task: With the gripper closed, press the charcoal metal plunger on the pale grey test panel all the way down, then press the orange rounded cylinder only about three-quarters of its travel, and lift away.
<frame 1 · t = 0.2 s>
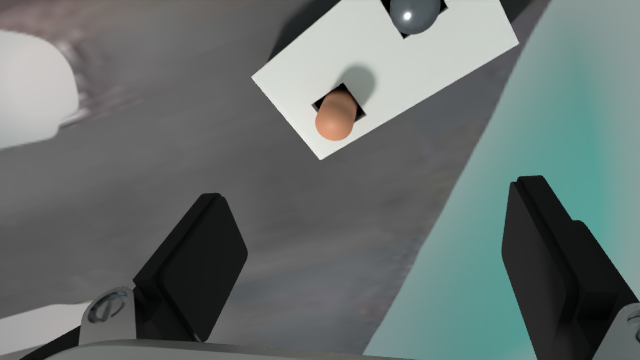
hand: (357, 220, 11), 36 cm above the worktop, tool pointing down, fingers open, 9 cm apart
charcoal plunger: (413, 4, 32), point 7 cm above the worktop, slide at 0.0 cm
orange rounded cylinder: (337, 114, 40), point 7 cm above the worktop, slide at 0.0 cm
test panel: (374, 48, 42), on the worktop
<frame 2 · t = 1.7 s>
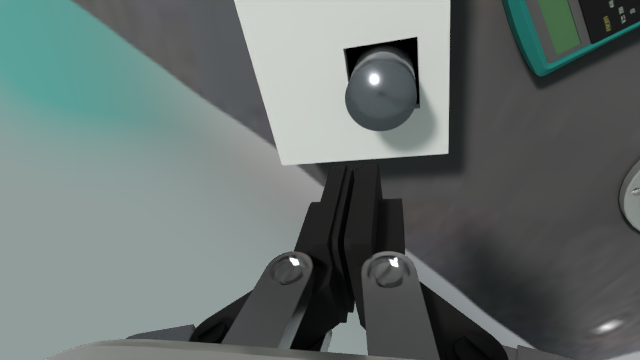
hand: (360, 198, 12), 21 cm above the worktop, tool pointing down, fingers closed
charcoal plunger: (381, 84, 23), point 7 cm above the worktop, slide at 0.0 cm
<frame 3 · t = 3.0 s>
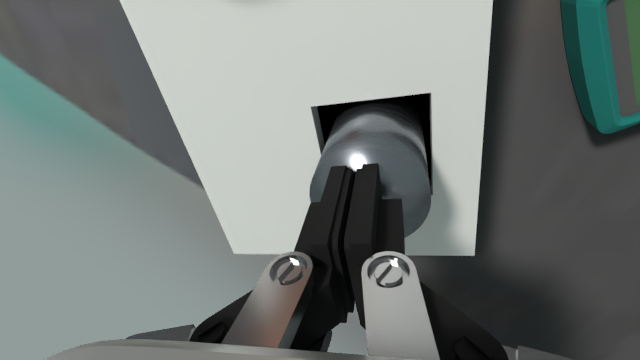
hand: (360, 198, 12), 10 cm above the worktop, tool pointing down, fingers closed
charcoal plunger: (373, 162, 14), point 7 cm above the worktop, slide at 0.4 cm, touching gripper
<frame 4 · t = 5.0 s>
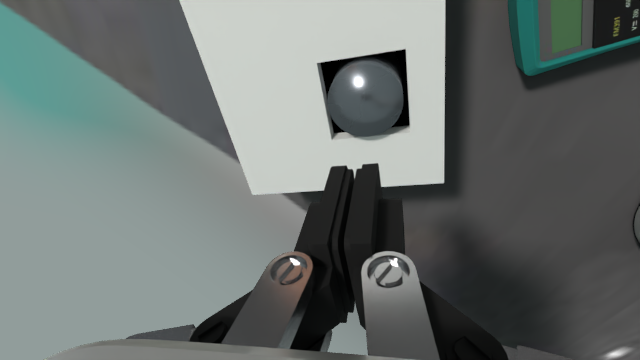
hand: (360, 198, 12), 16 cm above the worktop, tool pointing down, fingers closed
charcoal plunger: (367, 87, 22), point 4 cm above the worktop, slide at 3.4 cm
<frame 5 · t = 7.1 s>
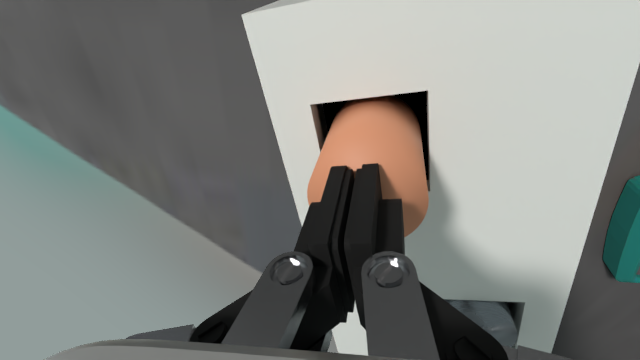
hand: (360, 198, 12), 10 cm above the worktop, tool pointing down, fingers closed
charcoal plunger: (469, 297, 23), point 4 cm above the worktop, slide at 3.4 cm
orange rounded cylinder: (370, 163, 14), point 7 cm above the worktop, slide at 0.0 cm, touching gripper
test panel: (424, 188, 23), on the worktop
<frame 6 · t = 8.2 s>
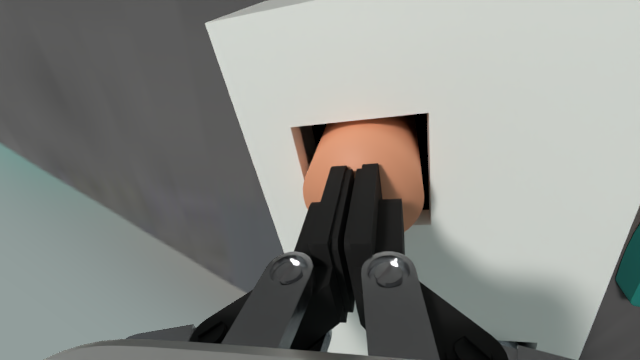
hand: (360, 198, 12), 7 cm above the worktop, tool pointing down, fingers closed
charcoal plunger: (473, 330, 20), point 4 cm above the worktop, slide at 3.4 cm
orange rounded cylinder: (366, 160, 14), point 5 cm above the worktop, slide at 2.7 cm, touching gripper
test panel: (423, 209, 21), on the worktop
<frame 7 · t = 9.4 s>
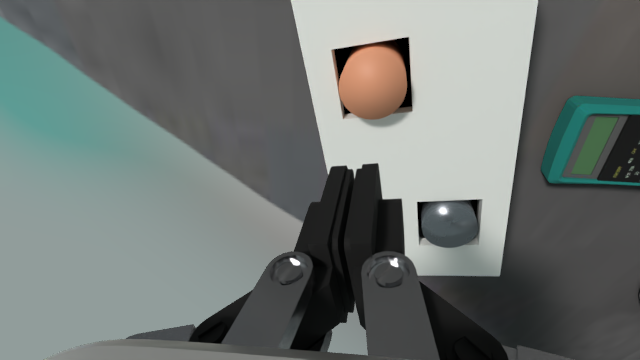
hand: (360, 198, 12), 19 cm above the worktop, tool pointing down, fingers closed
charcoal plunger: (445, 208, 30), point 4 cm above the worktop, slide at 3.4 cm
orange rounded cylinder: (374, 75, 24), point 5 cm above the worktop, slide at 2.7 cm
test panel: (411, 127, 30), on the worktop
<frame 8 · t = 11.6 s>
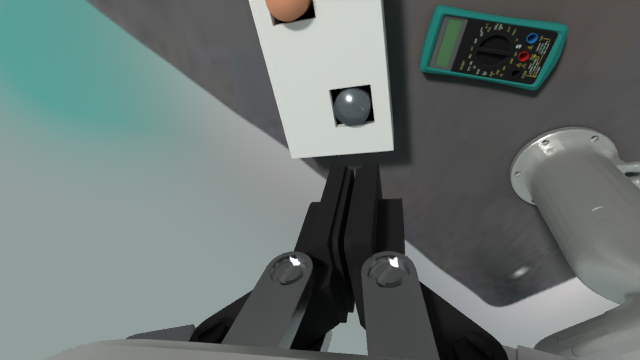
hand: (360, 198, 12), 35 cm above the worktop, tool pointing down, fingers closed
charcoal plunger: (354, 100, 43), point 4 cm above the worktop, slide at 3.4 cm
digital multimeter: (484, 45, 40), on the worktop
test panel: (331, 44, 43), on the worktop
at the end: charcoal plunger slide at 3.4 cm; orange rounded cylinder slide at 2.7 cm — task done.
